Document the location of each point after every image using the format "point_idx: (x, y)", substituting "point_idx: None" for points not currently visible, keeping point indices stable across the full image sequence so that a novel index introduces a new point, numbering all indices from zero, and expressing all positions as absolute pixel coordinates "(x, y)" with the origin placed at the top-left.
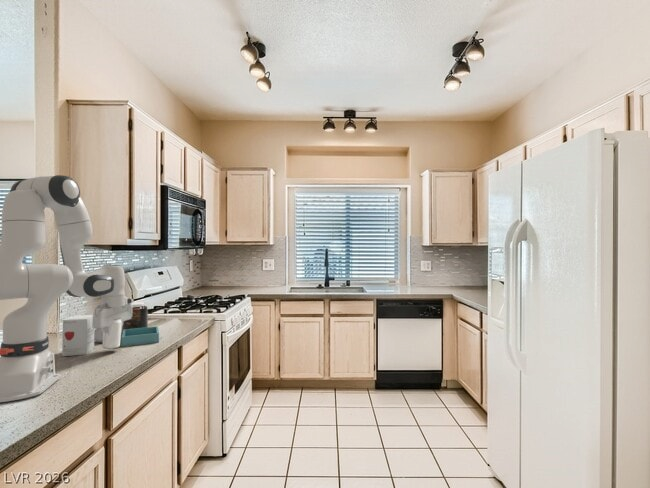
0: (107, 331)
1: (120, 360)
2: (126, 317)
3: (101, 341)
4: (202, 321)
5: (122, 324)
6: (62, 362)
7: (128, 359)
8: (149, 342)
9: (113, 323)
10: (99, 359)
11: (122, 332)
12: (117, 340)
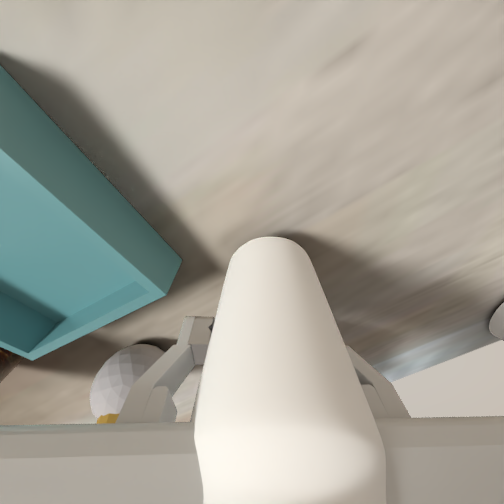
0: (355, 359)
1: (447, 104)
2: (25, 497)
3: (162, 351)
4: None
5: (151, 380)
6: (377, 324)
7: (449, 46)
8: (52, 126)
9: (379, 438)
10: (381, 236)
11: (23, 357)
12: (290, 258)
